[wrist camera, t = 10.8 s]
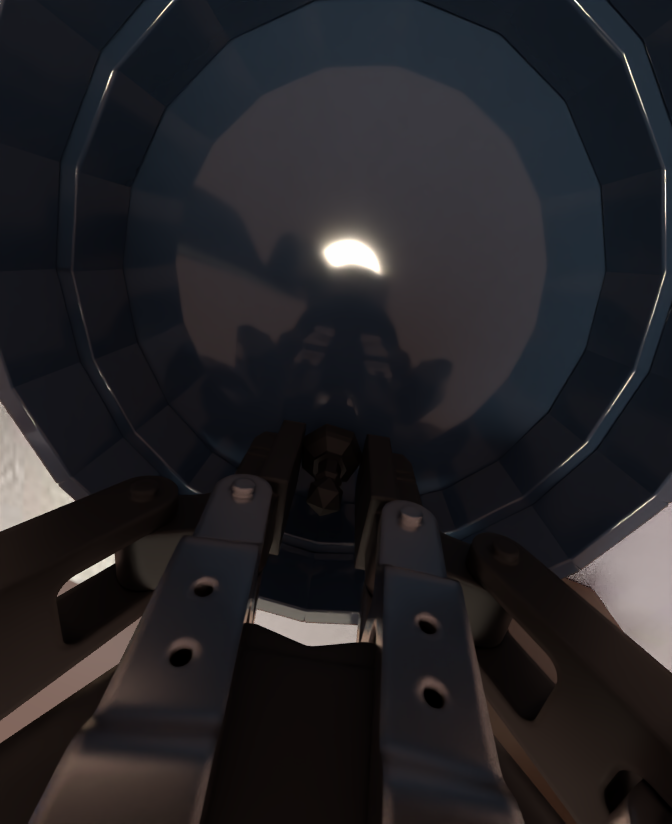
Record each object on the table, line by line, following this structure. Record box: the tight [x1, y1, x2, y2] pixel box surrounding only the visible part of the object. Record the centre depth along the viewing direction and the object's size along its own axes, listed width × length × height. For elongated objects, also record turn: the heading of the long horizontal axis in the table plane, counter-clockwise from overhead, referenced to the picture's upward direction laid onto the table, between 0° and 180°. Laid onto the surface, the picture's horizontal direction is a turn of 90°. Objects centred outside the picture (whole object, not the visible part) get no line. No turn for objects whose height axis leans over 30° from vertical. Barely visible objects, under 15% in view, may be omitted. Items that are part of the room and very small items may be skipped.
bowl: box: [0, 0, 672, 625], centre depth 10 cm, size 16×16×5 cm
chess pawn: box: [301, 424, 362, 516], centre depth 11 cm, size 2×2×3 cm
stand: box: [485, 578, 622, 824], centre depth 11 cm, size 6×6×13 cm
